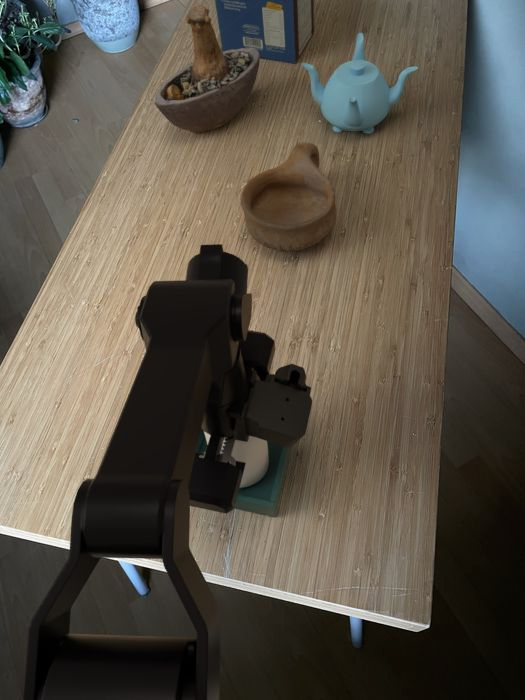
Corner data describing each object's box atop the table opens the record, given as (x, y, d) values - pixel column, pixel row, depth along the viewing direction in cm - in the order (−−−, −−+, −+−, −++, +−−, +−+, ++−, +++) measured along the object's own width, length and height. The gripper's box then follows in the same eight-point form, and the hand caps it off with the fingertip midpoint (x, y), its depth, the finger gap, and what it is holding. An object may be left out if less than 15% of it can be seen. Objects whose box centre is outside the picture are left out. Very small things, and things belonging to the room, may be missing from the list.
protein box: (241, 21, 118) (232, -65, 105) (314, 32, 114) (314, -56, 101) (220, 52, 113) (207, -35, 100) (296, 64, 109) (292, -24, 96)
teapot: (301, 116, 102) (299, 62, 93) (361, 84, 105) (364, 28, 96) (349, 155, 96) (351, 101, 87) (411, 120, 99) (419, 64, 90)
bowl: (242, 170, 94) (253, 119, 85) (327, 189, 96) (346, 140, 87) (229, 257, 85) (240, 208, 76) (323, 276, 87) (344, 230, 78)
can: (220, 495, 67) (206, 448, 58) (209, 445, 71) (195, 393, 61) (275, 481, 68) (270, 432, 58) (262, 433, 72) (255, 379, 62)
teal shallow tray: (276, 517, 67) (274, 507, 63) (182, 497, 69) (175, 486, 65) (296, 427, 72) (295, 414, 69) (209, 411, 74) (203, 397, 71)
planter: (163, 149, 100) (131, 35, 83) (186, 87, 109) (162, -29, 92) (248, 154, 98) (233, 37, 81) (265, 90, 106) (255, -28, 89)
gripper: (279, 499, 46) (288, 545, 60) (322, 307, 56) (322, 384, 69) (147, 471, 49) (184, 522, 62) (209, 291, 58) (230, 369, 71)
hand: (235, 445), depth 66 cm, fingers closed on can, 7 cm apart
